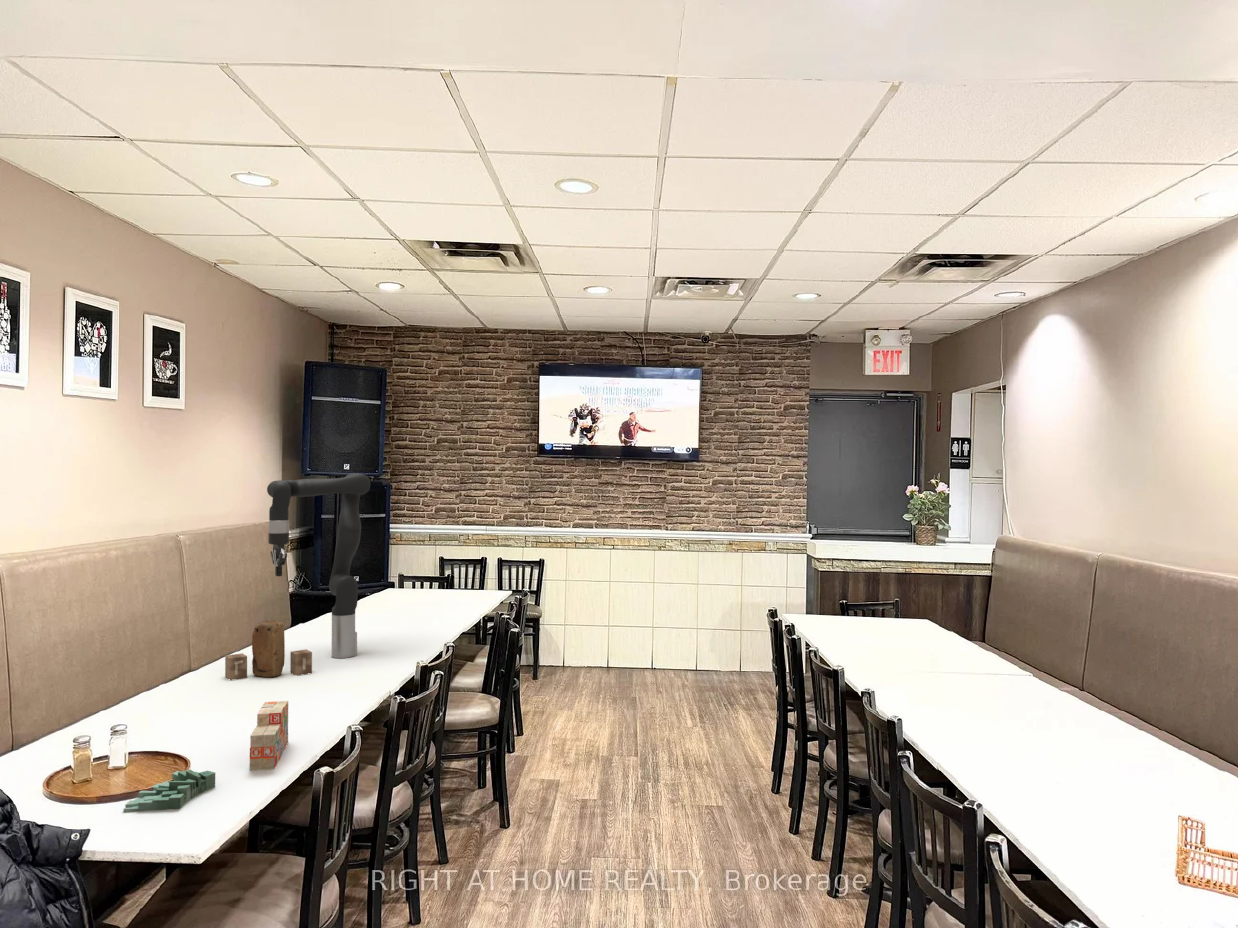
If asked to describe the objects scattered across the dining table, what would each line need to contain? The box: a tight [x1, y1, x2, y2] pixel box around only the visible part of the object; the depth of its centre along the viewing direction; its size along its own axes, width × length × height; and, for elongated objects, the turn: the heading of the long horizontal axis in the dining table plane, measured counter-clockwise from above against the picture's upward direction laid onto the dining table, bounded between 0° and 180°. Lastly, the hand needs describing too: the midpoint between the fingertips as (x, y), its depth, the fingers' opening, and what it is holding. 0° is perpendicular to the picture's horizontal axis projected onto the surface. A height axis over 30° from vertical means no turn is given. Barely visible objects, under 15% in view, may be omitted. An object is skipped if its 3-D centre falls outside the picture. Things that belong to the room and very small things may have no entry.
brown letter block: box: [224, 652, 248, 681], centre depth 312 cm, size 6×6×8 cm
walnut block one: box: [289, 648, 313, 676], centre depth 319 cm, size 6×6×8 cm
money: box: [122, 769, 216, 813], centre depth 203 cm, size 20×16×5 cm
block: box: [251, 619, 286, 678], centre depth 315 cm, size 11×8×20 cm
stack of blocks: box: [249, 700, 289, 771], centre depth 229 cm, size 21×6×12 cm, turn 13°
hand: (278, 575), depth 330 cm, fingers closed
